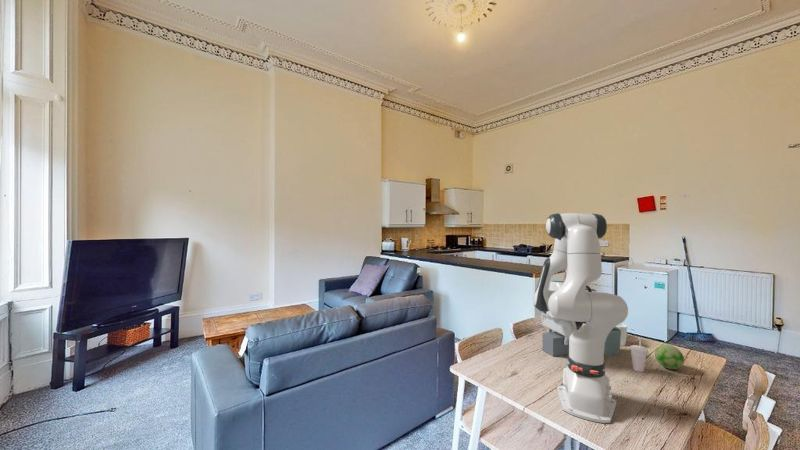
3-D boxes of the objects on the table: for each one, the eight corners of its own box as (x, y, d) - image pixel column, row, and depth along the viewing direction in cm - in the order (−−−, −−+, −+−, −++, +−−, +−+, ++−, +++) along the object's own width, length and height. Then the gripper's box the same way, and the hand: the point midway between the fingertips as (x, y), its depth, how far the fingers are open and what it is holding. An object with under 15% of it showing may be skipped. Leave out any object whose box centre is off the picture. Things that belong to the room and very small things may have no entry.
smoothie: (651, 374, 132) (651, 341, 132) (634, 372, 134) (634, 340, 133) (642, 367, 139) (642, 335, 138) (626, 365, 140) (626, 334, 140)
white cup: (605, 341, 168) (605, 322, 168) (616, 339, 170) (616, 321, 170) (619, 347, 160) (619, 327, 160) (630, 345, 163) (630, 326, 163)
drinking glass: (621, 357, 148) (622, 332, 148) (596, 352, 153) (596, 328, 153) (620, 350, 157) (620, 326, 156) (596, 345, 162) (596, 322, 162)
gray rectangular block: (553, 356, 149) (553, 338, 149) (542, 350, 156) (542, 332, 156) (573, 353, 152) (573, 336, 152) (562, 347, 159) (562, 330, 159)
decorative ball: (653, 368, 138) (653, 345, 137) (656, 360, 145) (656, 339, 145) (683, 376, 131) (683, 352, 131) (684, 368, 138) (685, 345, 138)
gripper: (580, 319, 145) (580, 348, 145) (549, 307, 164) (549, 333, 165) (569, 320, 143) (569, 350, 143) (539, 307, 163) (539, 334, 163)
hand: (558, 340), depth 154 cm, fingers open, 8 cm apart
